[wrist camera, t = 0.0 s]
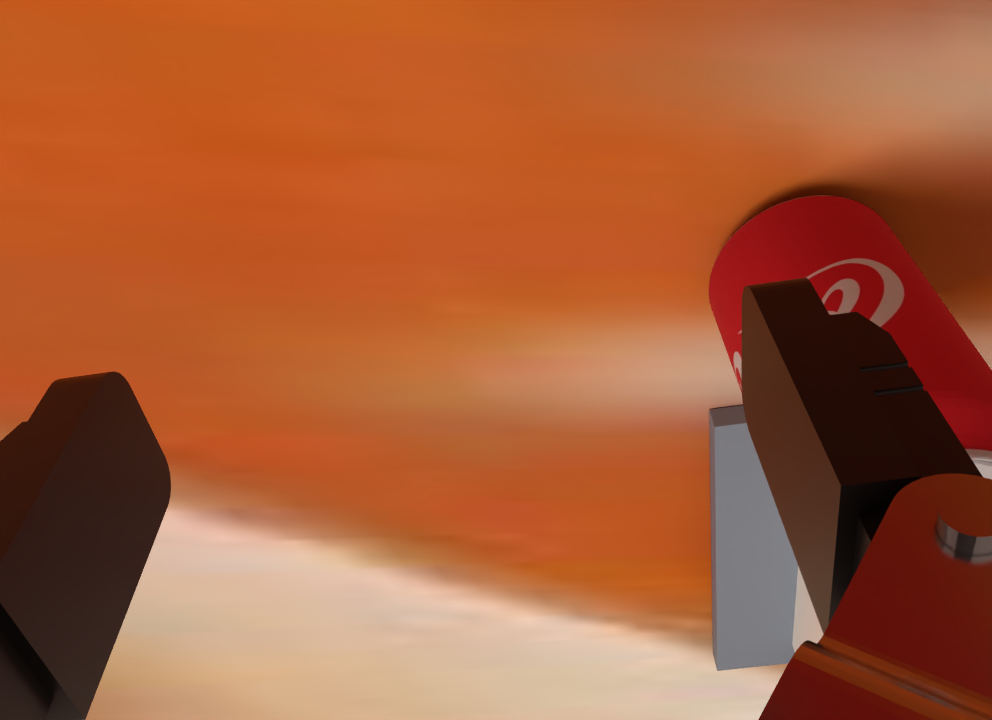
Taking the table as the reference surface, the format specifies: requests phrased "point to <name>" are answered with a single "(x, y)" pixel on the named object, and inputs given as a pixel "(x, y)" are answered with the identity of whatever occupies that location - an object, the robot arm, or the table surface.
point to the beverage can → (860, 299)
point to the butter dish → (751, 558)
